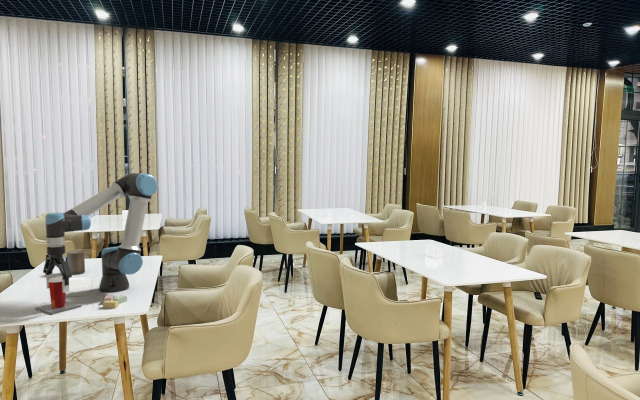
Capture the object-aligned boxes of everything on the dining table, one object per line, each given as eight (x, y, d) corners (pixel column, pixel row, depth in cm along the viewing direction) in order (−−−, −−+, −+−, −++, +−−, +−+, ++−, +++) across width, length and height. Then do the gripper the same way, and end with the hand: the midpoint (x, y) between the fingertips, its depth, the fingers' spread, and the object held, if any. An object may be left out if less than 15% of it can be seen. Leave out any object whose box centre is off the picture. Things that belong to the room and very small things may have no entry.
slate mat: (64, 302, 234) (64, 300, 233) (81, 306, 226) (81, 305, 226) (35, 309, 222) (35, 308, 222) (51, 314, 214) (51, 313, 214)
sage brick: (122, 301, 237) (121, 295, 236) (126, 301, 236) (126, 295, 235) (113, 304, 231) (112, 298, 231) (117, 305, 230) (117, 299, 230)
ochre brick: (103, 308, 225) (102, 302, 224) (106, 306, 228) (106, 300, 227) (115, 308, 224) (115, 302, 224) (118, 306, 227) (118, 300, 227)
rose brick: (106, 300, 237) (106, 295, 237) (113, 300, 238) (113, 294, 237) (104, 304, 231) (104, 298, 231) (110, 304, 232) (110, 298, 232)
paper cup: (70, 304, 228) (69, 275, 227) (62, 308, 220) (61, 279, 219) (54, 304, 228) (52, 275, 227) (45, 309, 220) (44, 279, 219)
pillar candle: (88, 271, 300) (87, 248, 299) (79, 275, 290) (77, 251, 289) (74, 271, 301) (72, 248, 300) (64, 274, 291) (63, 250, 290)
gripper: (33, 244, 225) (35, 288, 227) (62, 249, 212) (65, 295, 214) (49, 242, 231) (51, 284, 233) (78, 247, 218) (80, 291, 220)
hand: (57, 290), depth 223 cm, fingers open, 13 cm apart
